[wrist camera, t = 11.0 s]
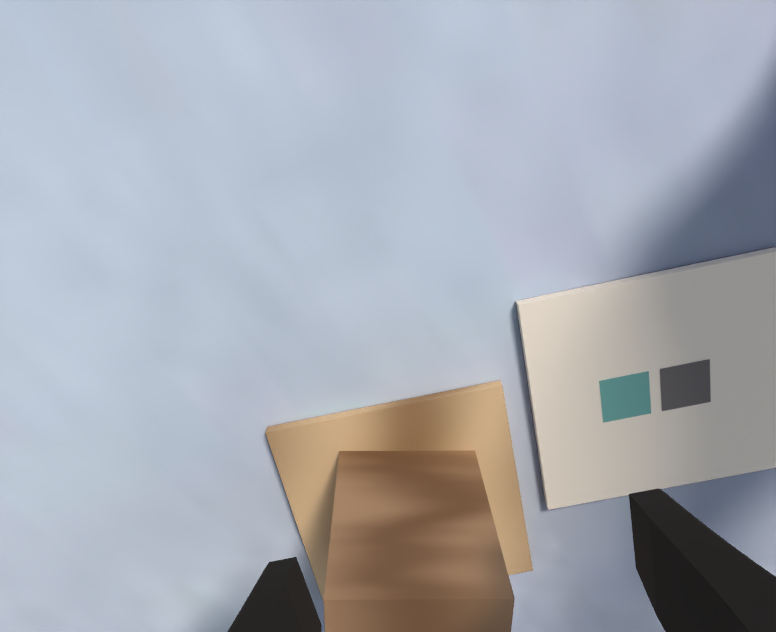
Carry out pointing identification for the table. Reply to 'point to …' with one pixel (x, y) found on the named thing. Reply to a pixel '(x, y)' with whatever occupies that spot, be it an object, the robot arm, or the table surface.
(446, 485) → the walnut block
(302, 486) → the cork mat
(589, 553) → the table surface
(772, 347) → the card
